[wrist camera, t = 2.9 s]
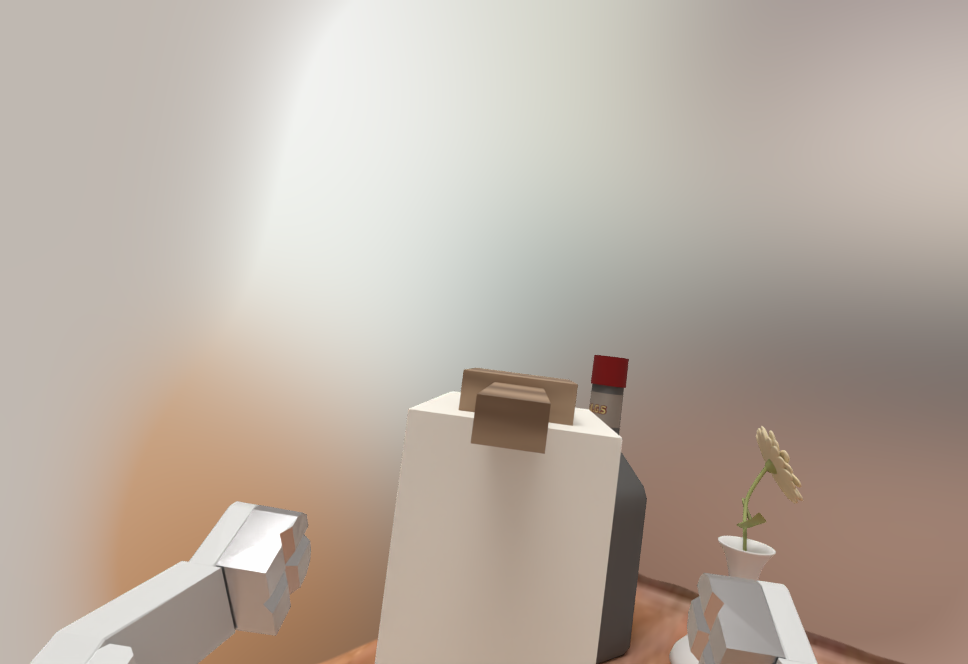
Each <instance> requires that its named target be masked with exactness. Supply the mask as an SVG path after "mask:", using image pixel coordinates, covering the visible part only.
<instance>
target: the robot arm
mask: <svg viewBox="0 0 968 664" xmlns="http://www.w3.org/2000/svg"><path fill="white" fill-rule="evenodd" d="M307 527H308V521H307V515H306V514H304V513H301V512H295V511H290V510H284V509H279V508H273V507H268V506H261V505H255V504H249V503H243V502H235V503H234V504H232V505H231V506H230V507H229V508H228V509H227V510H226V512H225V513H224V515H223V516H222V517H221V518H220V520H219V521H218V523H217V524H216V525H215V527H214V528H213V529H212V531H211V532H210V534H209V535H208V536H207V538H206V539H205V540H204V542H203V543H202V544H201V546H200V547H199V549H198V550H197V551H196V553H195V554H194V555H193V557H192V558H191V559H190V561H189V562H184V561H181V562H179V563H178V564H176V565H174V566H172V567H171V568H169V569H167V570H166V571H163V572H162V573H160V574H158V575H156V576H155V577H153V578H151V579H149V580H148V581H146V582H144V583H142V584H140V585H139V586H137V587H135V588H134V589H132V590H130V591H128V592H126V593H125V594H123V595H121V596H119V597H118V598H116V599H114V600H112V601H111V602H109V603H107V604H105V605H104V606H102V607H100V608H98V609H96V610H95V611H93V612H91V613H89V614H88V615H86V616H84V617H82V618H81V619H79V620H77V621H75V622H73V623H72V624H70V625H68V626H66V627H65V628H63V629H61V630H59V631H58V632H57V633H56V634H55V635H54V636H53V637H52V638H51V640H50V641H49V642H48V643H47V644H46V645H45V646H44V648H43V649H42V650H41V651H40V652H39V653H38V655H37V656H36V657H35V658H34V659H33V660H32V661H31V663H30V664H198V663H199V662H200V661H201V660H203V659H204V658H205V657H206V656H207V655H209V654H210V653H211V652H212V651H213V650H215V649H216V648H217V647H218V646H220V645H221V644H222V643H223V642H224V641H225V640H226V639H228V638H229V637H230V636H231V635H233V634H234V633H235V630H240V631H247V632H255V633H261V634H269V635H277V633H278V631H279V629H280V627H281V625H282V623H283V621H284V619H285V617H286V615H287V613H288V611H289V609H290V607H291V604H290V596H289V595H290V594H291V593H292V592H294V591H295V590H297V589H298V588H300V587H301V584H302V582H303V580H304V578H305V576H306V573H307V569H308V566H309V562H310V554H311V546H310V541H309V539H308V538H307V537H306V536H305V535H304V533H305V531H306V529H307ZM697 587H698V592H699V597H697V598H696V599H694V600H692V602H691V605H690V609H689V612H688V623H687V631H688V641H689V647H690V651H691V653H692V654H693V655H694V656H695V657H696V659H697V660H698V661H699V663H698V664H818V663H817V661H816V658H815V656H814V653H813V651H812V648H811V646H810V643H809V641H808V638H807V636H806V633H805V631H804V628H803V626H802V623H801V621H800V618H799V616H798V613H797V611H796V608H795V606H794V603H793V601H792V598H791V595H790V593H789V591H788V589H787V588H786V587H785V586H784V584H777V583H770V582H764V581H755V580H752V579H745V578H737V577H730V576H723V575H716V574H708V573H703V575H702V576H701V577H700V579H699V582H698V585H697Z"/></svg>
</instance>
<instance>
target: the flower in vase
mask: <svg viewBox="0 0 968 664" xmlns="http://www.w3.org/2000/svg"><path fill="white" fill-rule="evenodd" d="M756 439H757V442H758V445H759V448H760V451H761V454H762V456H763V459H764V461H765V467H764V468H763V470H762V471H761V472H760V474H759V475H758V477H757V478H756V480H755V481H754V483H753V484H752V486H751V488H750V489H749V492H748V493H747V496H746V498H745V499H744V498H742V503H743V507H744V509H743V522H741V523H738V524H737V526H739V527H741V528H743V538H742V537H735V536H721V537H719V538H718V540H719V542H720V544H721V546H722V548H723V550H724V553H725V555H726V559H727V564H728V573H729V576H730V577H737V578H745V579H752V580H755V581H758V578H759V575H760V572H761V570H762V569H763V567H764V565H765V563H766V562H767V561H768V560H769V559H770V558H771V557H772V556H774V555H775V553H776V551H775V550H774V549H773V548H771V547H770V546H768V545H765V544H763V543H760V542H757V541H754V540H751V539H747V528H750V527H753V526H756V525H759V524H762V523H765V522H766V520H765V519H764V517H763V516H762V515H761V514H760V513H758V514H756V515H755V516H754V517H753V518H752V517H751V515H750V513H749V511H748V507H747V506H748V502H749V498H750V496H751V494H752V492H753V490H754V489H755V487H756V485H757V484H758V482H759V481H760V480H761V478H762V477H763V475H764V474H765V473H766V471H768V472H770V473H771V474H772V476H773V478H774V479H775V481H776V483H777V484H778V485H779V487H780V489H781V490H782V491H783V492H784V494H785V495H786V496H787V497H788V499H790V500H791V501H792V502H793V503H798V500H797V499H799V500H801V501H803V498H802V496H801V494H800V493H799V491H798V490H797V489H796V487H795V485H796V486H797V487H801V483H800V481H799V480H798V478H797V477H796V476H795V475H794V474H792V473H793V470H792V468H791V467H790V466H789V464H788V463H789V459H790V458H789V455H788V454H787V452H786V451H784V450H782V451H780V452H779V445H778V443H777V441H776V439H775V436H774V434H773V432H772V431H770V432H769V437H768V434H767V432H766V430H765V428H763V426H761V430H760V428H758V431H757V435H756ZM747 518H748V521H747ZM669 658H670V662H671V664H698V663H699V661H698V660H697V659H696V657H695V656H694V655H693V654H692V653H691V651H690V647H689V641H688V635H686V636H684V637H683V638H681V639H680V640H678V641H677V642H676V643H675V644H674V646H673V648H672V650H671V652H670V655H669Z"/></svg>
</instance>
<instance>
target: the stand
mask: <svg viewBox="0 0 968 664" xmlns="http://www.w3.org/2000/svg"><path fill="white" fill-rule="evenodd" d="M460 395H461V392H453V391H451V392H448V393H446V394H444V395H441V396H439V397H436V398H434V399H432V400H429V401H427V402H424V403H422V404H420V405H417V406H414V407H412V408H410V409H408V415H407V424H406V431H405V438H404V446H403V453H402V461H401V469H400V476H399V484H398V491H397V499H396V507H395V514H394V522H393V529H392V537H391V544H390V553H389V560H388V567H387V575H386V582H385V590H384V597H383V605H382V613H381V620H380V628H379V635H378V643H377V651H376V658H375V664H596V658H597V650H598V642H599V633H600V625H601V616H602V608H603V599H604V591H605V582H606V574H607V565H608V557H609V548H610V540H611V531H612V523H613V514H614V506H615V498H616V489H617V481H618V472H619V464H620V455H621V446H622V438H621V437H620V436H619V435H618V434H617V433H616V432H614V431H613V430H612V429H611V428H610V427H609V426H607V425H606V424H605V423H604V422H603V421H602V420H601V419H599V418H598V417H597V416H596V415H595V414H594V413H592V412H591V411H590V410H588V409H581V408H575V412H574V420H573V426H570V425H563V424H556V423H548V432H547V440H546V448H545V454H542V453H535V452H528V451H521V450H514V449H507V448H500V447H493V446H486V445H479V444H472V443H471V436H472V428H473V420H474V412H468V411H460V410H459V403H460Z"/></svg>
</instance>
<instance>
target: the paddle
mask: <svg viewBox="0 0 968 664" xmlns="http://www.w3.org/2000/svg"><path fill="white" fill-rule="evenodd" d="M577 388H578V385H577V384H576V383H574V382H572V381H570V380H566V379H558V378H551V377H543V376H535V375H528V374H520V373H512V372H505V371H497V370H489V369H482V368H472V369H465V370H464V372H463V380H462V388H461V395H460V403H459V410H460V411H468V412H474V420H473V428H472V436H471V443H472V444H479V445H486V446H493V447H500V448H507V449H514V450H521V451H528V452H535V453H542V454H545V448H546V440H547V432H548V423H556V424H563V425H570V426H573V420H574V412H575V403H576V396H577Z"/></svg>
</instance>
